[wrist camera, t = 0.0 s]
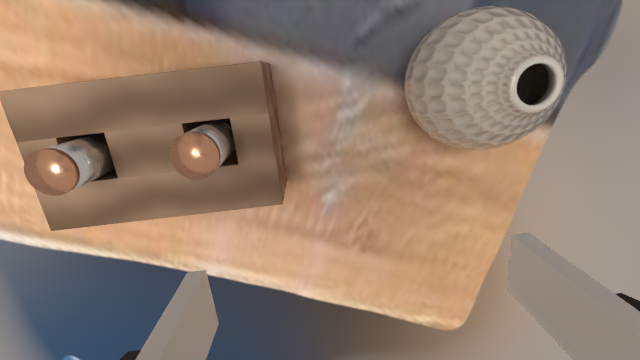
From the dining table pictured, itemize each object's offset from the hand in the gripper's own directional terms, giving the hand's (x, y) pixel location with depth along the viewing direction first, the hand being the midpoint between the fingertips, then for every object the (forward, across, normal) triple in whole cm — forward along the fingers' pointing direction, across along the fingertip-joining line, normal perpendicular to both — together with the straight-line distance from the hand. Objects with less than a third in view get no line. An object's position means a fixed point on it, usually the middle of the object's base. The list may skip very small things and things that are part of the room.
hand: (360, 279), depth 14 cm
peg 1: (+22, -23, +3) cm, 33 cm away
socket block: (+28, -17, +3) cm, 33 cm away
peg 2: (+23, -11, +3) cm, 25 cm away
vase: (+28, +15, +6) cm, 32 cm away
